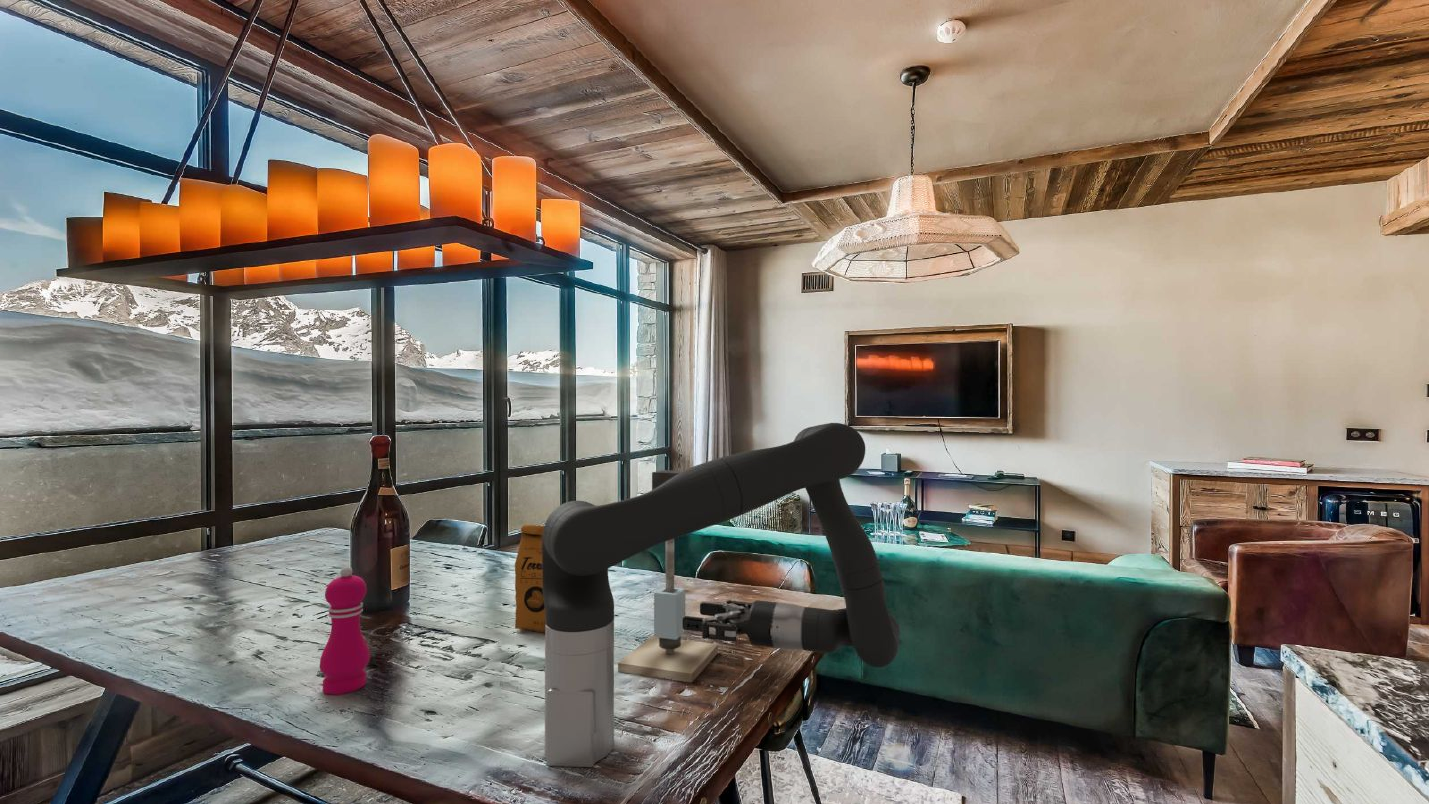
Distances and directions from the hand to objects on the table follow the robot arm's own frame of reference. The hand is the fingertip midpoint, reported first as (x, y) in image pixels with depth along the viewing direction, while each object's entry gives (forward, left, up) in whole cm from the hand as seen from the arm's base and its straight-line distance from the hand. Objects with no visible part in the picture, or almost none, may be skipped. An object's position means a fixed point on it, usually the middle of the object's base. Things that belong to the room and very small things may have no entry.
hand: (692, 615), depth 110 cm
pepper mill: (-13, +57, -9) cm, 59 cm away
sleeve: (+1, +4, -4) cm, 6 cm away
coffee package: (+17, +33, -9) cm, 39 cm away
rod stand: (+1, +4, -9) cm, 10 cm away
